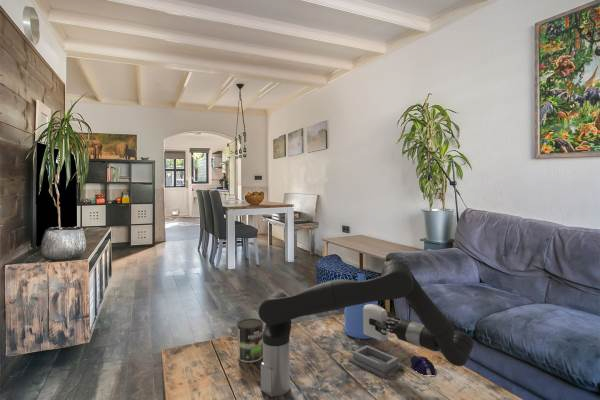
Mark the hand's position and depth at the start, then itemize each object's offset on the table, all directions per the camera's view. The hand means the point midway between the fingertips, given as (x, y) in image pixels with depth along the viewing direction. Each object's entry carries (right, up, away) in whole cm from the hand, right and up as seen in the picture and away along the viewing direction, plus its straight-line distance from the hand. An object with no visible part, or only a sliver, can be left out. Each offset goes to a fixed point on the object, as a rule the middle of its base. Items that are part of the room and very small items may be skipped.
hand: (373, 319), depth 139 cm
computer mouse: (+18, -19, -1) cm, 26 cm away
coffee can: (-49, -18, +7) cm, 53 cm away
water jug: (0, -16, +30) cm, 34 cm away
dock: (+1, -18, +1) cm, 18 cm away
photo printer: (+1, -7, 0) cm, 7 cm away
